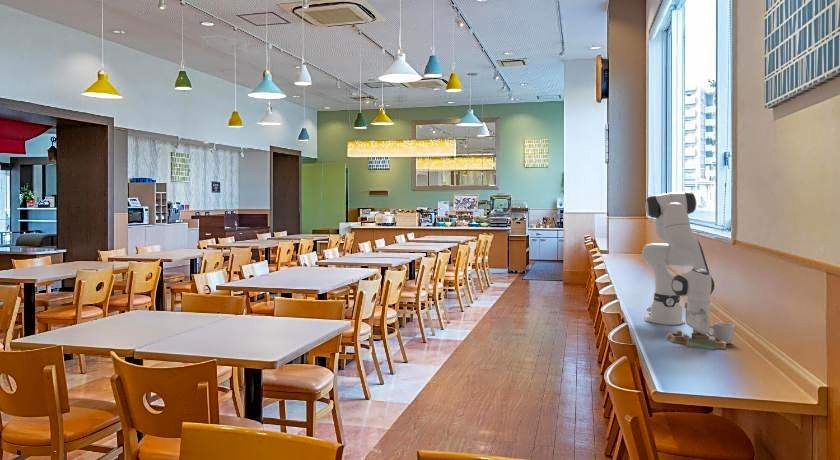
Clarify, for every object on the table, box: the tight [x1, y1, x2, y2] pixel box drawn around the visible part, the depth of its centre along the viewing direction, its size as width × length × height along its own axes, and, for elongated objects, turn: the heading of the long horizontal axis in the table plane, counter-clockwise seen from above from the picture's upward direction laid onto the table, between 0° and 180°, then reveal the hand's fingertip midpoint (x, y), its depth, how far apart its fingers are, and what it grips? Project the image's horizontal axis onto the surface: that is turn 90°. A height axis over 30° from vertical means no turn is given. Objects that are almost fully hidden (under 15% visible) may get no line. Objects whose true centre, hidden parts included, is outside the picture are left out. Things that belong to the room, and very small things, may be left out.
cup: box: [707, 322, 736, 345], centre depth 276 cm, size 11×8×8 cm
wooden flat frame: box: [666, 329, 727, 350], centre depth 272 cm, size 18×19×4 cm
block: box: [690, 332, 709, 339], centre depth 267 cm, size 5×5×5 cm
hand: (696, 339), depth 271 cm, fingers closed
